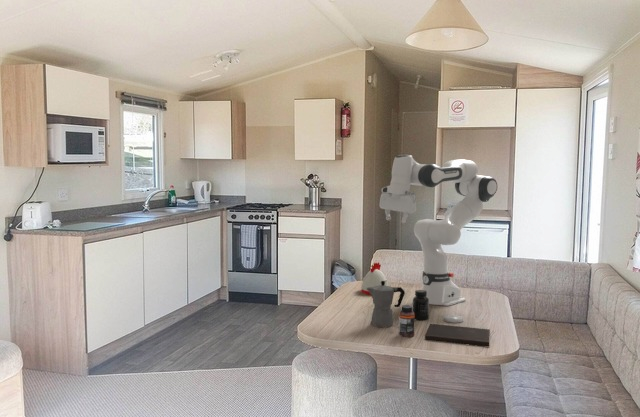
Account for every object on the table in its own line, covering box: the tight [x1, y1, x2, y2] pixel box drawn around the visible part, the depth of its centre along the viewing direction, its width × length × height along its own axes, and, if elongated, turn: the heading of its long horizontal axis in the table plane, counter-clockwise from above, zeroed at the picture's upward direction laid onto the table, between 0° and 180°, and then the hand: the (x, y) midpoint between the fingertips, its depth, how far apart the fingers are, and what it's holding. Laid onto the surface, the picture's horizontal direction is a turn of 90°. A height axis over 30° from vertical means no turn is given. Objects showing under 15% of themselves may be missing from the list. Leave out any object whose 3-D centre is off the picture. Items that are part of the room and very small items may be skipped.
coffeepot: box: [367, 281, 406, 328], centre depth 219 cm, size 15×9×18 cm, turn 82°
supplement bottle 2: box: [412, 289, 430, 322], centre depth 227 cm, size 7×7×12 cm
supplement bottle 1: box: [398, 304, 416, 338], centre depth 206 cm, size 6×6×11 cm
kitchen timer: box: [361, 262, 389, 296], centre depth 274 cm, size 14×14×15 cm
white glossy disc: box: [443, 314, 464, 324], centre depth 226 cm, size 8×8×1 cm
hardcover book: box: [424, 323, 491, 347], centre depth 205 cm, size 16×23×2 cm
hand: (395, 221), depth 240 cm, fingers open, 8 cm apart
